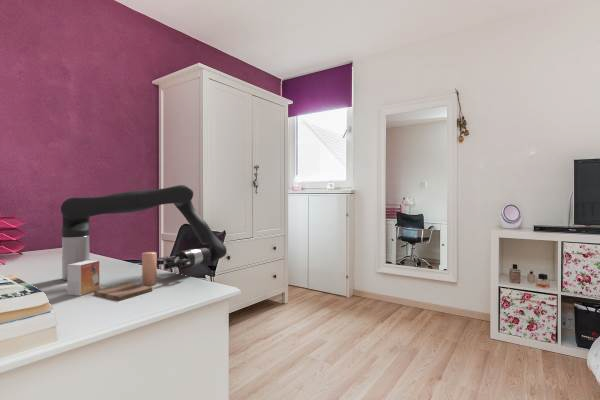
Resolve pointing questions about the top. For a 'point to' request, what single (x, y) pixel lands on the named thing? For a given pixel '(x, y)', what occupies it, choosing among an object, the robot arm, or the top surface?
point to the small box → (83, 277)
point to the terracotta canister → (149, 268)
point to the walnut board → (123, 291)
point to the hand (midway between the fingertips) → (157, 265)
